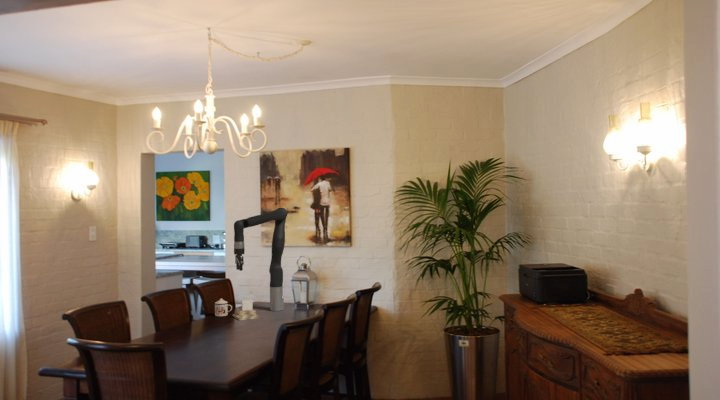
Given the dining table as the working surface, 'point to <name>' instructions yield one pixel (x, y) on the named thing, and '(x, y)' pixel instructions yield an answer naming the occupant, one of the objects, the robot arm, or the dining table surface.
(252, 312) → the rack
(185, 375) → the dining table surface
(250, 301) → the tile
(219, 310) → the teacup with lid
